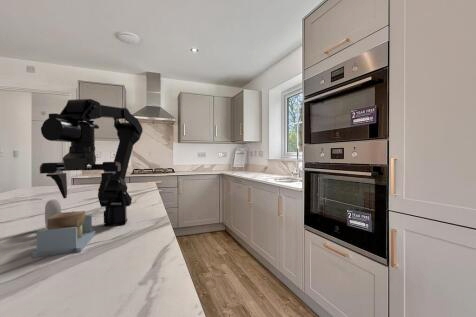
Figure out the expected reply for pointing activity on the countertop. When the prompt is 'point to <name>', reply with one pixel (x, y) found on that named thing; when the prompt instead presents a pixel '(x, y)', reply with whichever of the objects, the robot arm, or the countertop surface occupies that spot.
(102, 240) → the countertop surface
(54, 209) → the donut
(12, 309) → the countertop surface
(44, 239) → the peg stand
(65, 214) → the walnut block
